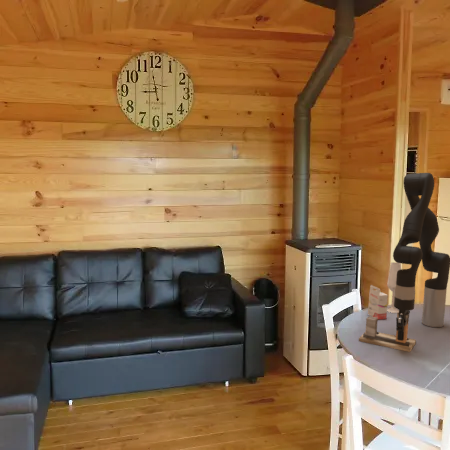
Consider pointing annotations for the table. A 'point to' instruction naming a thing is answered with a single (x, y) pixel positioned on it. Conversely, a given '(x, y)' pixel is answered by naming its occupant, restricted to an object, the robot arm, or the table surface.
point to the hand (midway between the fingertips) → (401, 338)
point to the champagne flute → (393, 283)
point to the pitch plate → (383, 337)
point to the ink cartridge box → (377, 303)
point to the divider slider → (404, 334)
